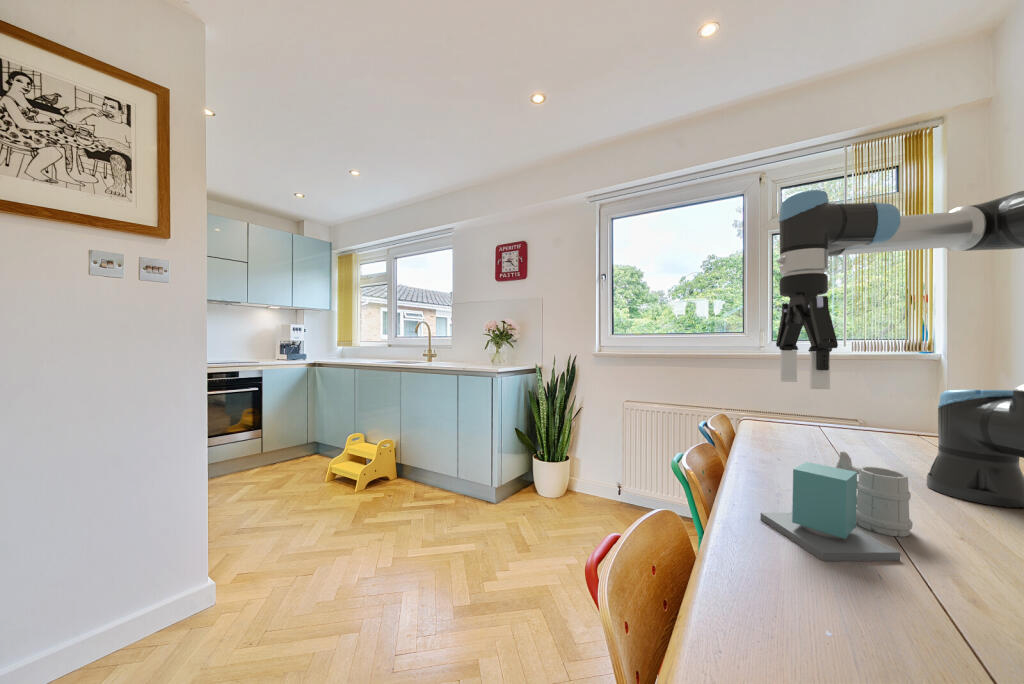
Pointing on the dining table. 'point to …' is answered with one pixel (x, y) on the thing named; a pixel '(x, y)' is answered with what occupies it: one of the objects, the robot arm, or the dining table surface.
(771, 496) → the dining table surface
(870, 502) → the mug
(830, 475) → the teal block
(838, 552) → the post board
